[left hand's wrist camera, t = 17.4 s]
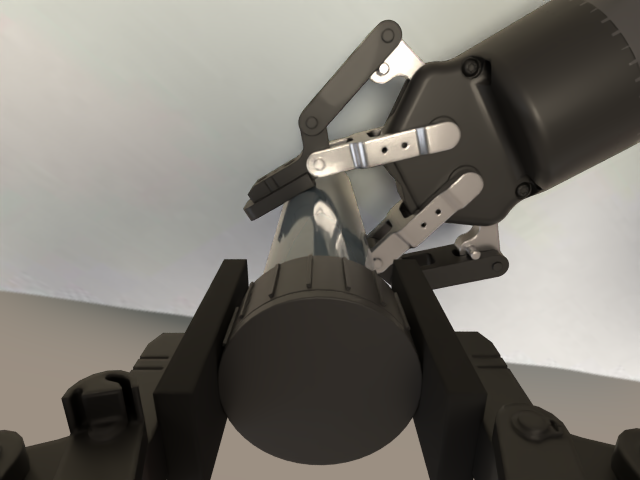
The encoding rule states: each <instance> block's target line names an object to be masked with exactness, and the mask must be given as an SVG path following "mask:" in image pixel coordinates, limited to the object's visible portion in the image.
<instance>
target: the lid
mask: <svg viewBox="0 0 640 480" xmlns="http://www.w3.org/2000/svg"><path fill="white" fill-rule="evenodd" d="M222 346H223V347H225V348H224V351H223V353H222V356H221V360H220V363H219V367H218V386H219V396H220V401H221V404H222V407H223V409H224V412H225V413H226V415H227V417H228V419H229V421H230V422H231V423H232V425H233V426H234V427H235V429H236V430H237V431H238V432H239V433H240V434H241V435H242V436H243V437H244V438H245V439H247V440H248V441H249V442H250V443H252V444H253V445H254V446H256V447H257V448H259V449H261V450H262V451H264V452H266V453H268V454H271V455H273V456H275V457H278V458H281V459H284V460H287V461H291V462H295V463H301V464H308V465H331V464H339V463H345V462H349V461H353V460H356V459H360V458H362V457H365V456H367V455H370V454H372V453H374V452H376V451H378V450H379V449H381V448H383V447H384V446H386V445H387V444H389V443H390V442H391V441H392V440H393V439H395V438H396V437H397V436H398V435H399V434H400V433H401V432H402V431H403V430H404V429H405V427H406V426H407V425H408V423H409V422H410V420H411V419H412V417H413V416H414V413H415V411H416V409H417V407H418V404H419V401H420V398H421V389H422V376H423V374H422V368H421V362H420V360H419V356H418V353H417V350H416V347H415V344H414V342H413V339H412V336H411V333H410V326H409V323H408V321H407V318H406V315H405V312H404V310H403V307H402V304H401V301H400V299H399V296H398V294H397V292H395V293H394V292H393V291H392V289H391V288H390V287H389V285H388V284H387V283H386V282H385V281H384V280H383V279H382V278H381V277H380V276H378V274H377V272H376V271H375V270H373V271H372V270H370V269H368V268H367V267H365V266H363V265H361V264H359V263H356V262H354V261H351V260H348V259H347V258H346V257H343V258H340V257H334V256H322V255H316V256H312V255H308V256H305V257H300V258H296V259H292V260H289V261H286V262H283V263H281V264H279V263H278V264H276V265H275V267H273V268H272V269H270V270H269V271H267V272H266V273H264V274H263V275H262V276H261V277H260V278H258V279H257V280H256V281H255V282H251V283H250V285H249V288H248V291H247V292H246V294H245V296H244V297H243V299H242V301H241V304H240V306H239V308H238V307H236V308H235V311H234V314H233V316H232V319H231V322H230V325H229V327H228V330H227V333H226V335H225V338H224V341H223V344H222Z"/></svg>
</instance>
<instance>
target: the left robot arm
mask: <svg viewBox="0 0 640 480" xmlns="http://www.w3.org/2000/svg"><path fill="white" fill-rule="evenodd" d="M248 288H249V284H248V269H247V259H224V261H223V263H222V264H221V266H220V268H219V270H218V272H217V274H216V276H215V278H214V279H213V281H212V283H211V285H210V287H209V289H208V291H207V293H206V294H205V296H204V298H203V300H202V302H201V304H200V306H199V308H198V309H197V311H196V313H195V315H194V317H193V319H192V321H191V323H190V325H189V326H188V328H187V330H186V332H185V333H162V334H161V335H160V336H158V337H157V338H156V339H154V340H153V341H152V342H150V343H149V344H148V345H147V347H146V348H145V350H144V352H143V353H142V355H141V356H140V359H138V361H137V362H136V364H135V365H134V367H133V370H131V372H130V373H129V372H125V371H122V370H114V371H105V372H100V373H97V374H93V375H91V376H89V377H87V378H84V379H82V380H80V381H78V382H77V383H76V384H74V385H73V386H72V387H70V388H69V389H68V390H67V392H66V393H65V394H64V396H63V397H62V403H63V406H64V410H65V414H66V418H67V422H68V426H69V429H70V433H71V434H70V436H68V437H64V438H61V439H58V440H54V441H49V442H45V443H41V444H37V445H33V446H28V447H25V445H24V441H23V438H22V437H21V436H20V435H19V434H18V433H17V432H14V431H7V430H1V431H0V480H210V479H211V475H212V472H213V468H214V464H215V461H216V457H217V453H218V450H219V446H220V442H221V439H222V435H223V432H224V428H225V424H226V421H227V415H226V413H225V412H224V409H223V407H222V404H221V401H220V396H219V386H218V367H219V363H220V360H221V356H222V353H223V351H224V348H225V347H223V346H222V344H223V341H224V338H225V335H226V333H227V330H228V327H229V325H230V322H231V319H232V316H233V314H234V311H235V308H236V307H238V308H239V306H240V304H241V301H242V299H243V297H244V296H245V294H246V292H247V291H248ZM391 289H392V291H393V292H394V293H395V292H397V294H398V296H399V299H400V301H401V304H402V307H403V310H404V312H405V315H406V318H407V321H408V323H409V326H410V333H411V336H412V339H413V342H414V344H415V347H416V350H417V353H418V356H419V360H420V362H421V368H422V374H423V376H422V389H421V398H420V401H419V404H418V407H417V409H416V411H415V413H414V416H413V419H414V423H415V427H416V431H417V434H418V438H419V442H420V445H421V449H422V452H423V456H424V460H425V463H426V467H427V470H428V474H429V478H430V480H473V478H474V480H640V429H638V428H635V429H629V430H625V431H623V432H622V433H621V434H620V435H619V436H618V439H617V442H616V446H615V445H611V444H606V443H603V442H598V441H594V440H590V439H586V438H582V437H578V436H575V435H572V434H570V433H569V432H568V430H567V428H566V427H565V425H564V424H563V422H561V421H560V420H559V419H558V418H557V417H555V416H554V415H553V414H552V413H550V412H548V411H546V410H544V409H542V408H540V407H537V406H533V404H532V403H531V401H530V400H529V398H528V397H527V395H526V394H525V392H524V391H523V389H522V388H521V386H520V384H519V383H518V381H517V380H516V378H515V377H514V375H513V374H512V372H511V371H510V369H508V368H507V365H506V363H505V362H504V360H503V358H501V357H500V354H499V352H498V351H497V349H496V348H495V346H494V345H493V343H492V342H491V341H489V340H488V339H487V338H485V337H484V336H483V335H481V334H480V333H478V332H455V331H454V330H453V328H452V326H451V324H450V322H449V320H448V318H447V316H446V315H445V313H444V311H443V309H442V307H441V305H440V303H439V301H438V300H437V298H436V296H435V294H434V292H433V290H432V288H431V286H430V285H429V283H428V281H427V279H426V277H425V275H424V273H423V271H422V270H421V268H420V266H419V264H418V262H417V260H416V259H393V273H392V288H391Z"/></svg>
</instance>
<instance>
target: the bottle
mask: <svg viewBox="0 0 640 480" xmlns="http://www.w3.org/2000/svg"><path fill="white" fill-rule="evenodd" d="M308 255H312V256H316V255H322V256H334V257H340V258H343V257H346V258H347V259H348V260H351V261H354V262H356V263H359V264H361V265H363V266H365V267H367V268H368V269H370V270H372V271H373V270H375V271H376V272H377V270H376V267H375V263H374V260H373V257H372V253H371V250H370V246H369V243H368V240H367V236H366V233H365V229H364V226H363V223H362V219H361V216H360V213H359V209H358V206H357V202H356V199H355V196H354V192H353V189H352V185H351V182H350V179H349V177H348V175H347V174H346V173H345V171H344V172H340V173H336V174H332V175H328V176H324V177H318V178H317V179H315V186H313V187H312V188H310V189H308V190H306V191H305V192H303V193H301V194H299V195H297V196H296V197H294V198H292V199H291V200H289V201H287V202H285V203H284V205H283V208H282V212H281V215H280V218H279V222H278V225H277V229H276V232H275V235H274V239H273V242H272V246H271V249H270V252H269V256H268V259H267V262H266V266H265V269H264V273H266V272H267V271H269V270H270V269H272V268H273V267H275V265H276V264H278V263H279V264H281V263H283V262H286V261H289V260H292V259H296V258H300V257H305V256H308ZM264 273H263V274H264Z"/></svg>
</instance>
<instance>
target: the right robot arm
mask: <svg viewBox="0 0 640 480" xmlns="http://www.w3.org/2000/svg"><path fill="white" fill-rule="evenodd" d="M395 76H402V77H404V78H405V79H406V81H405V83H404V86H403V88H402V90H401V92H400V94H399V96H398V98H397V100H396V102H395V104H394V106H393V108H392V111H391V113H390V115H389V117H388V119H387V121H386V123H385V125H384V126H382V127H378V128H374V129H370V130H366V131H362V132H358V133H355V134H352V135H350V136H347V137H344V138H340V139H336V140H332V141H329V139H328V133H327V125H328V124H329V123H330V122H331V121H332V120H333V119H334V118H335V116H336V115H337V114H338V113H339V112H340V111H341V110H342V109H343V107H344V106H345V105H346V104H347V103H348V102H349V101H350V100H351V98H352V97H353V96H354V95H355V94H356V93H357V92H358V91H359V89H360V88H361V87H362V86H363V85H364V84H365V83H366V82H367V80H368V79H370V80H371V81H372V82H374V83H386V82H388V81H389V80H391V79H392V78H393V77H395ZM299 128H300V130H301V136H302V141H303V151H302V152H301V154H300V155H299V156H297V157H296V158H294V159H292V160H291V161H289V162H287V163H285V164H284V165H282V166H280V167H279V168H277V169H275V170H274V171H272V172H270V173H268V174H267V175H265V176H263V177H262V178H260V179H258V180H257V182H256V183H255V184H254V186H253V187H252V189H251V190H250V192H249V193H248V196H249V197H250V200H249V201H248V202H247V203H246V205H245V207H244V208H243V209H244V211H245V212H246V214H247V215H248V217H249V218H250V220H251V221H253V220H255V219H257V218H259V217H261V216H263V215H264V214H266V213H268V212H270V211H271V210H273V209H275V208H277V207H278V206H280V205H282V204H284V203H285V202H287V201H289V200H291V199H292V198H294V197H296V196H297V195H299V194H301V193H303V192H305V191H306V190H308V189H310V188H312V187H313V186H315V179H317V178H318V177H324V176H328V175H332V174H336V173H340V172H344V171H348V170H352V169H358V168H360V169H364V168H370V167H374V166H378V165H382V164H383V165H384V166H385V168H386V169H387V170H388V172H389V173H390V174H391V175H392V176H393V177H394V179H395V181H396V186H397V191H398V193H399V195H400V197H401V200H400V201H399V202H398V203H397V204H396V205H395V206H394V207H392V208H391V210H390V211H389V212H388V214H387V216H386V218H385V219H384V220H383V221H382V222H381V223H380V224H379V225H378V226H377V227H376V228H375V229H374V230H372V231H371V232H370V233H369V234H368V235H367V240H368V243H369V246H370V250H371V253H372V257H373V260H374V263H375V267H376V270H377V274H378V276H380V277H381V278H382V279H384V280H385V281H386V282H387V283H389V284H390V285H391V286H392V273H393V259H416V260H417V262H418V264H419V266H420V268H421V270H422V271H423V273H424V275H425V277H426V279H427V281H428V283H429V285H430V286H431V288H432V290H433V289H438V288H443V287H448V286H453V285H459V284H464V283H469V282H474V281H479V280H484V279H489V278H494V277H499V276H501V275H503V274H504V273H506V271H507V270H508V267H509V262H508V260H507V258H506V257H505V256H503V254H502V253H501V252H500V244H499V233H498V223H499V222H500V221H501V220H503V219H504V218H505V217H506V215H507V214H508V213H509V212H510V210H511V209H512V208H513V207H514V206H515V205H516V204H517V203H519V202H520V201H521V200H523V199H525V198H528V197H530V196H533V195H536V194H539V193H541V192H544V191H546V190H548V189H550V188H552V187H554V186H556V185H558V184H560V183H562V182H564V181H566V180H568V179H570V178H571V177H573V176H575V175H577V174H579V173H581V172H583V171H585V170H587V169H589V168H591V167H593V166H595V165H597V164H599V163H601V162H603V161H605V160H606V159H608V158H610V157H612V156H614V155H616V154H618V153H620V152H622V151H624V150H626V149H628V148H630V147H632V146H633V145H635V144H637V143H639V142H640V0H551V1H550V2H548V3H546V4H545V5H543V6H541V7H540V8H538V9H536V10H535V11H533V12H531V13H529V14H528V15H526V16H524V17H523V18H521V19H519V20H518V21H516V22H514V23H513V24H511V25H509V26H508V27H506V28H504V29H503V30H501V31H499V32H497V33H496V34H494V35H492V36H491V37H489V38H487V39H486V40H484V41H482V42H481V43H479V44H477V45H476V46H474V47H472V48H470V49H469V50H467V51H465V52H464V53H462V54H460V55H459V56H457V57H455V58H453V59H451V60H448V61H442V62H441V61H435V62H428V63H424V62H423V61H422V60H421V59H420V58H419V57H418V56H417V55H416V54H415V52H414V51H413V50H412V49H411V48H410V47H409V46H408V45H407V44H406V43H405V42H404V41H403V40H402V31H401V28H400V26H399V25H398V24H397V23H396V22H395V21H392V20H385V21H382V22H381V23H379V24H378V25H377V26H376V27H375V28H374V29H373V30H372V31H371V32H370V33H369V34H368V36H367V37H366V38H365V39H364V40H363V41H362V43H361V44H360V45H359V46H358V47H357V48H356V50H355V51H354V52H353V53H352V54H351V55H350V56H349V58H348V59H347V60H346V61H345V62H344V63H343V65H342V66H341V67H340V68H339V69H338V70H337V72H336V73H335V74H334V75H333V76H332V77H331V79H330V80H329V81H328V82H327V83H326V84H325V86H324V87H323V88H322V89H321V90H320V91H319V93H318V94H317V95H316V96H315V97H314V98H313V100H312V101H311V102H310V103H309V104H308V105H307V107H306V108H305V109H304V110H303V111H302V113H301V115H300V117H299ZM422 223H423V224H422ZM443 223H454V224H464V225H473V227H472V228H471V230H470V231H468V232H467V233H465V234H462V235H460V236H459V237H458V238H457V239H456V241H455V244H452V245H447V246H442V247H437V248H432V249H427V250H422V251H417V252H412V253H408V254H404V253H405V252H406V251H407V250H408V249H410V248H415V247H417V246H418V245H420V244H421V243H422V242H423V241H424V240H425V239H426V238H427V237H429V236H430V235H431V234H432V233H433V232H434V231H435V230H436V229H437V228H439V227H440V226H441V225H442V224H443Z"/></svg>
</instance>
